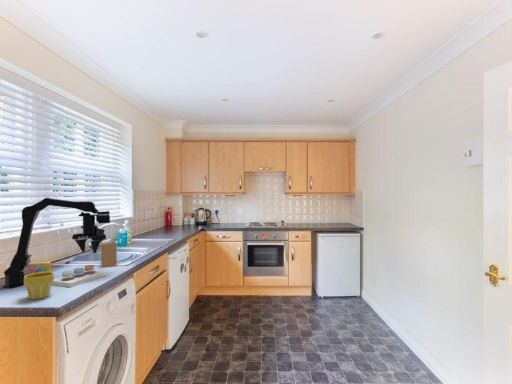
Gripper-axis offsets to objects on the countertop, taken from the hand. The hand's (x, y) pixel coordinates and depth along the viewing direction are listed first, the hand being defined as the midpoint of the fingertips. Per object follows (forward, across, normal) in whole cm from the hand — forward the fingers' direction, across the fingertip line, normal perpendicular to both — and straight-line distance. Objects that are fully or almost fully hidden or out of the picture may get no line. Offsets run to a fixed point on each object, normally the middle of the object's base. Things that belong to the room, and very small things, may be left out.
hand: (89, 252), depth 150 cm
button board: (+13, 0, +6) cm, 14 cm away
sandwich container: (+14, +12, -23) cm, 29 cm away
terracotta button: (+9, 0, 0) cm, 9 cm away
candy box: (+13, +27, +11) cm, 32 cm away
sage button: (+9, 0, +12) cm, 15 cm away
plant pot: (+13, -6, +29) cm, 33 cm away
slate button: (+9, 0, +6) cm, 11 cm away
